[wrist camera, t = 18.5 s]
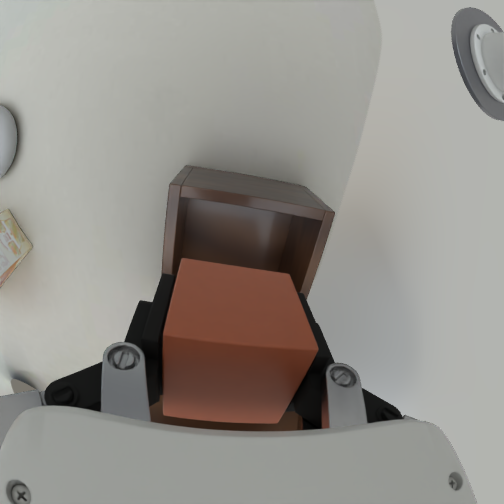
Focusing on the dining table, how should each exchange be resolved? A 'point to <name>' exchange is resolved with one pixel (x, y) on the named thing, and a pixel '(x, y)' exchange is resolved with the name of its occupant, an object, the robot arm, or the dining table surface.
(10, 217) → the coffeecake box
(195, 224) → the chest
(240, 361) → the block
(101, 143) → the dining table surface
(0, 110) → the donut
